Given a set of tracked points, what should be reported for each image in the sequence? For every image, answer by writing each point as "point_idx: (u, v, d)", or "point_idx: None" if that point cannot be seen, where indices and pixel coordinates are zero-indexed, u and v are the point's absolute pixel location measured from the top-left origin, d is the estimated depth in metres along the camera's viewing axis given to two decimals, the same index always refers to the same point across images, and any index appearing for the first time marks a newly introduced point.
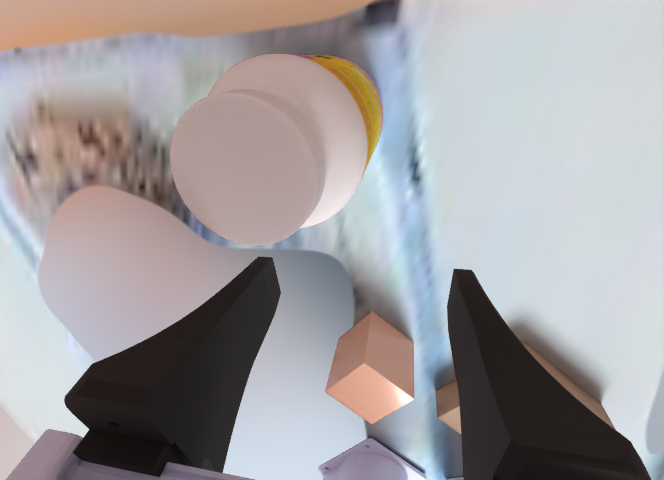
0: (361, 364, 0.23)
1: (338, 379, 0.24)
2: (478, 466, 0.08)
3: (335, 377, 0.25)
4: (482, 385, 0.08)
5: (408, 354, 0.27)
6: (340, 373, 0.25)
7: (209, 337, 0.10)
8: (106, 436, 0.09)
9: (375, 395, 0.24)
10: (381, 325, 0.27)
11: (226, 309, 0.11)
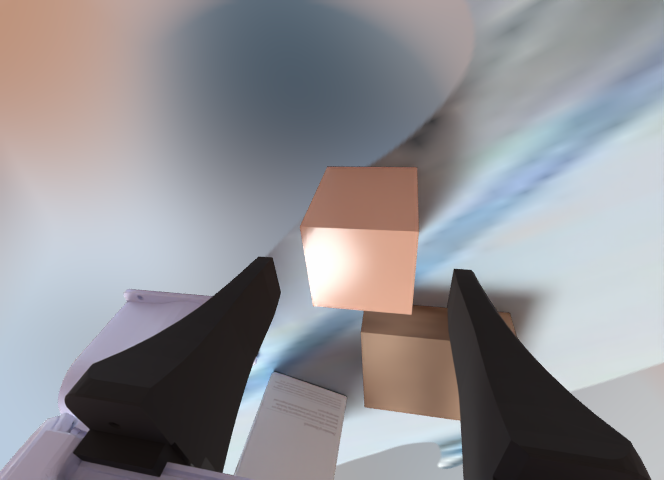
0: (410, 231, 0.12)
1: (340, 224, 0.13)
2: (478, 466, 0.08)
3: (329, 217, 0.14)
4: (482, 385, 0.08)
5: None
6: (343, 217, 0.14)
7: (209, 337, 0.10)
8: (106, 436, 0.09)
9: (368, 279, 0.14)
10: None
11: (226, 309, 0.11)
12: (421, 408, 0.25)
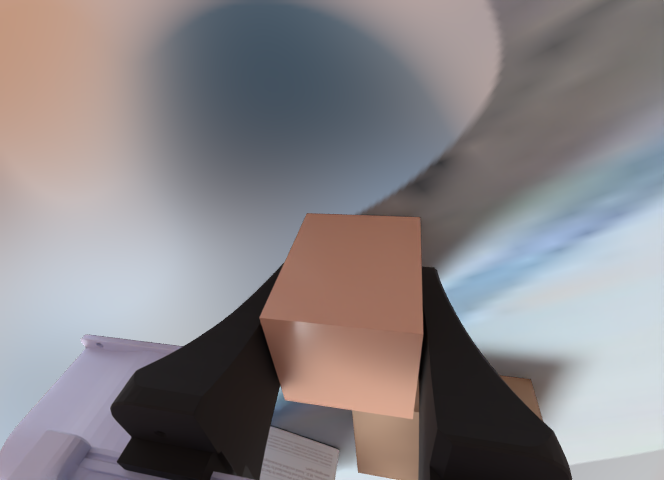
0: (411, 332, 0.09)
1: (314, 316, 0.10)
2: (424, 457, 0.09)
3: (301, 302, 0.10)
4: (428, 378, 0.09)
5: None
6: (319, 302, 0.10)
7: (250, 342, 0.10)
8: (150, 445, 0.08)
9: (355, 380, 0.11)
10: None
11: None
12: None
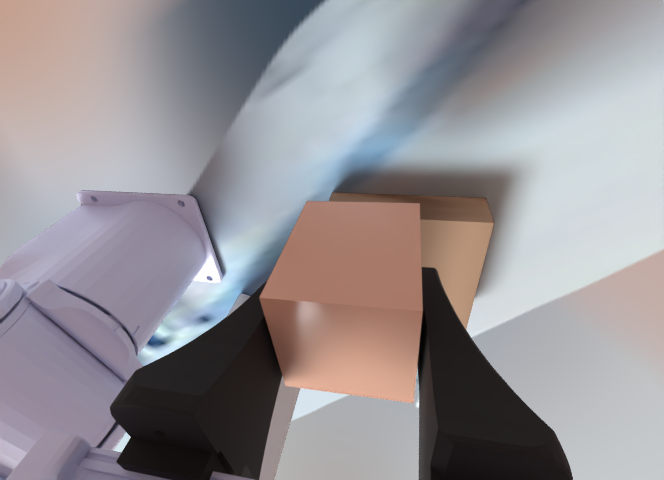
0: (411, 309, 0.09)
1: (314, 295, 0.10)
2: (424, 457, 0.09)
3: (301, 283, 0.10)
4: (429, 378, 0.09)
5: None
6: (319, 282, 0.10)
7: (249, 342, 0.10)
8: (149, 444, 0.08)
9: (355, 362, 0.11)
10: None
11: (263, 313, 0.11)
12: None
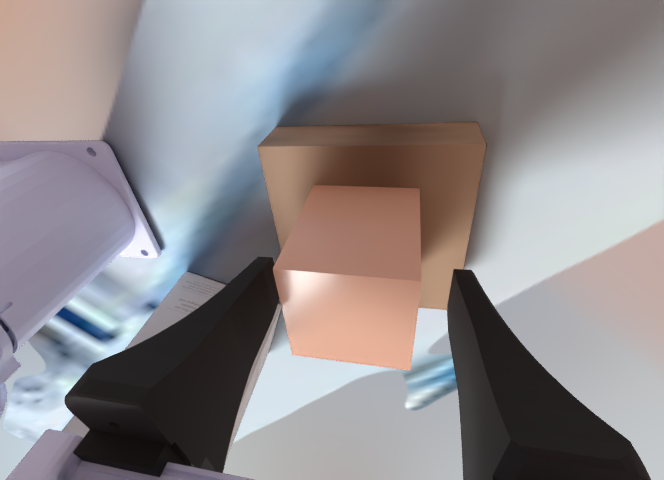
0: (411, 279, 0.10)
1: (323, 267, 0.10)
2: (478, 466, 0.08)
3: (310, 256, 0.11)
4: (482, 385, 0.08)
5: None
6: (327, 256, 0.11)
7: (209, 337, 0.10)
8: (106, 436, 0.09)
9: (358, 330, 0.12)
10: None
11: (226, 309, 0.11)
12: None
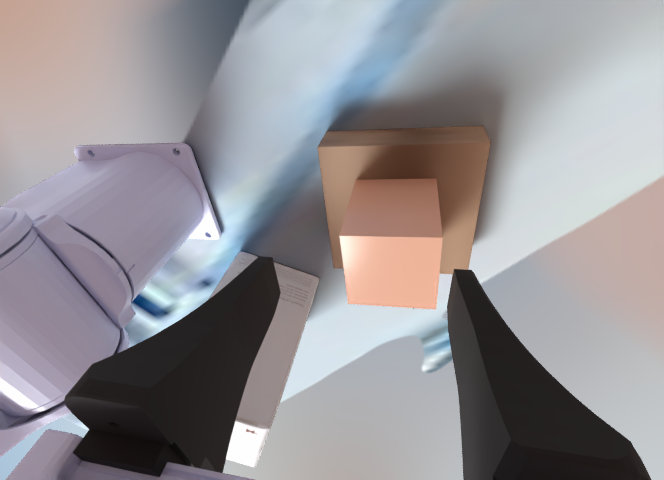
0: (435, 237, 0.15)
1: (374, 233, 0.15)
2: (478, 466, 0.08)
3: (364, 227, 0.16)
4: (482, 385, 0.08)
5: None
6: (375, 226, 0.16)
7: (209, 337, 0.10)
8: (106, 436, 0.09)
9: (398, 279, 0.16)
10: None
11: (226, 309, 0.11)
12: None
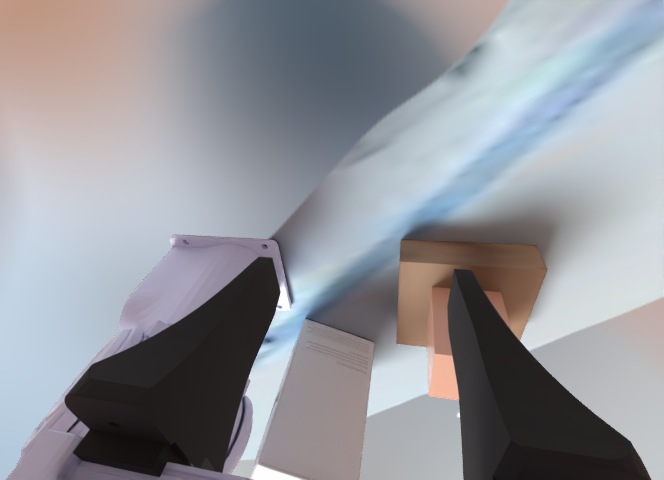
0: None
1: None
2: (478, 466, 0.08)
3: None
4: (482, 385, 0.08)
5: None
6: None
7: (209, 337, 0.10)
8: (106, 436, 0.09)
9: None
10: None
11: (226, 309, 0.11)
12: None
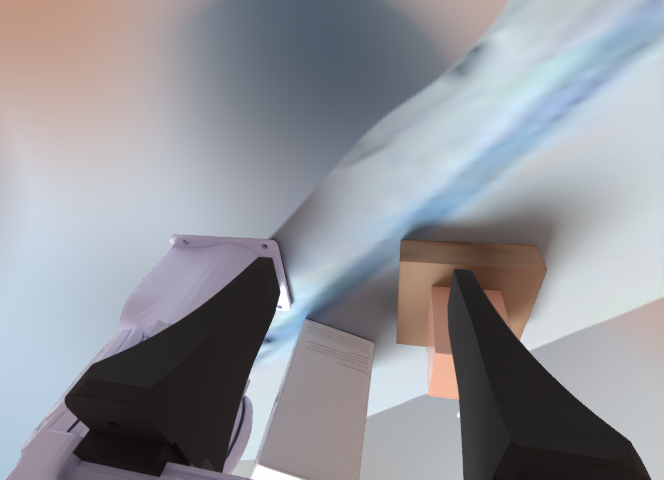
0: None
1: None
2: (478, 466, 0.08)
3: None
4: (482, 385, 0.08)
5: None
6: None
7: (209, 337, 0.10)
8: (106, 436, 0.09)
9: None
10: None
11: (226, 309, 0.11)
12: None
